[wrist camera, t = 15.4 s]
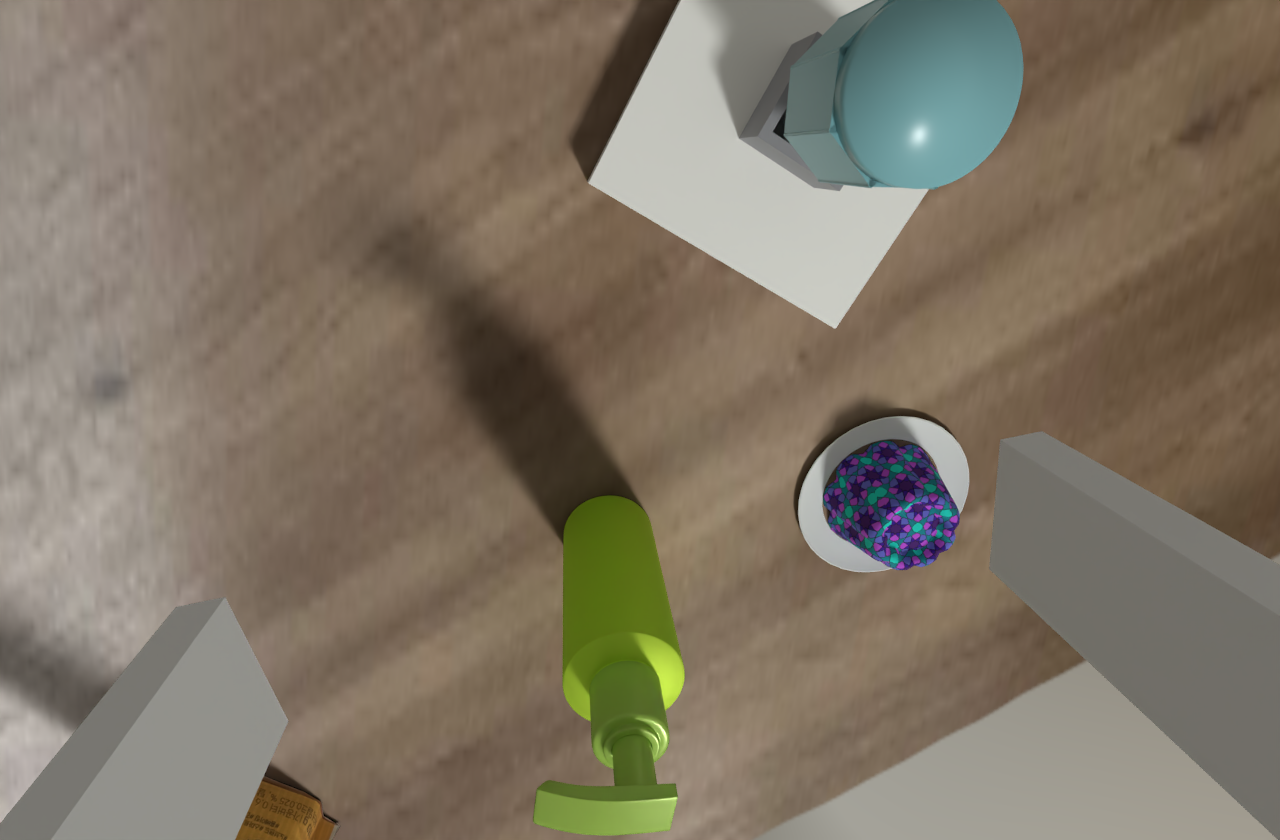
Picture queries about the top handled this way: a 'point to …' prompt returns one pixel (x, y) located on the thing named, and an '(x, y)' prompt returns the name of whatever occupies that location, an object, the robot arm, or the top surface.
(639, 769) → the soap dispenser
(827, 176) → the cap
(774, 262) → the post base
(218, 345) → the top surface
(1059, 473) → the robot arm
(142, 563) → the top surface
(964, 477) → the patterned brimmed hat
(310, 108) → the top surface
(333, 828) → the pancake mix bag
